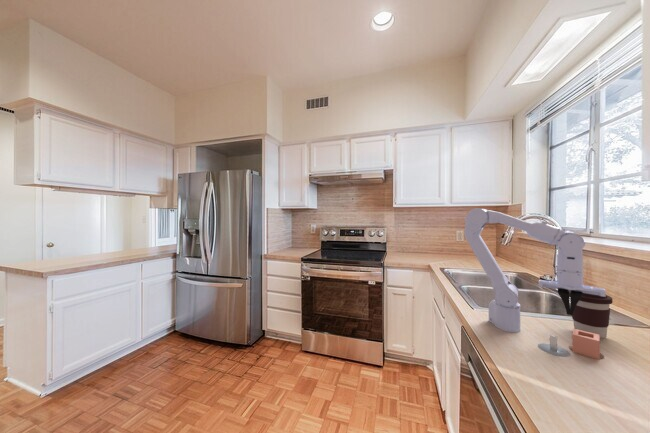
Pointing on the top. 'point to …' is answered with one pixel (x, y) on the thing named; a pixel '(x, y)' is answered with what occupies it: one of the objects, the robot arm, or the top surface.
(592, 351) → the salmon square tube
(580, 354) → the hub
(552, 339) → the stand
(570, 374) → the top surface
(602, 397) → the top surface
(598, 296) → the coffee cup
